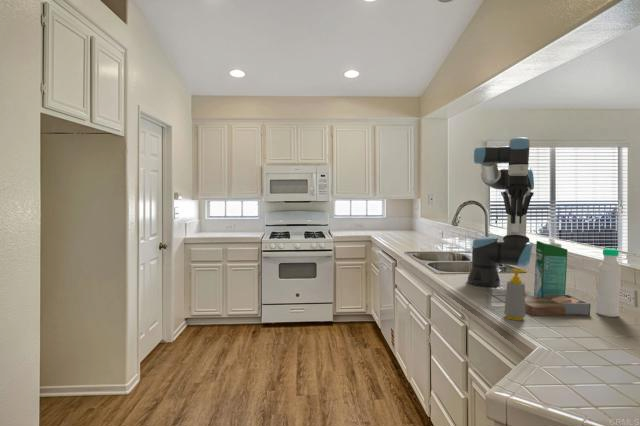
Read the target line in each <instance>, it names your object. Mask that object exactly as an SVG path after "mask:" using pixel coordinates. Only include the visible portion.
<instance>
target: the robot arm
mask: <svg viewBox="0 0 640 426" xmlns="http://www.w3.org/2000/svg"><path fill="white" fill-rule="evenodd" d="M530 146H531V144H530V139H529V138H528V137H513V138H511V139H510V140H509V144H508V145H506V146H505V145H504V146H503V145H501V146H477V147H475V148H474V151H473V162H474V163H475V164H478V165H480V168H481V173H480V178H481V180H482V181H483V183H484V184H485V185H486V186H487V187H490V188H492V189H495V190H501V192H500V194H501V196H502V198H503V202H504V208H505V213H506V214H507V221H506V222H507V223H506V234H505V235H504V236H503V237H502V240H500V239H499V238H498V237H497V236H483V237H477V238H475V239H473V241H472V247H471V249H472V253H471V254H472V255H471V268H470V271H469V272H468V276H467V283H468V284H470V285H473V286H479V287H488V288H489V287H491V288H492V287H500V285H501V279H500V275H499V272H498V265H506V266H515V267H516V266H517V267H527V266H529V264H530V262H531V261H530V260H531V256H532V250H533V242H532V241H530V237H528V236H527V214H528V211H529V210H528V209H529V206H530V202H531V199H532V197H534V195H535V194H534V192H533V190H534V189H535V181H534V172H533V170H532V168H530V167H529V161H530V160H529V159H530ZM499 164H508V167H499ZM502 190H503V191H502Z"/></svg>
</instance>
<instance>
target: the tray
mask: <svg viewBox="0 0 640 426" xmlns="http://www.w3.org/2000/svg"><path fill="white" fill-rule="evenodd" d="M560 296H565V297H567V298H571V297H572V298H574V299H577V300H579V301H580V302H581V303H563V307H564V308H565V316H591V304H592V303H590V302H587V301H586V300H583V299H580V298H578V297H576V296H573V295H570V294H568V293H567V294H566V293H565V294H544V298H546V299H548V300H550V301H551V299H553V298H557V297H560Z"/></svg>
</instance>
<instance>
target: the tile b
mask: <svg viewBox="0 0 640 426" xmlns="http://www.w3.org/2000/svg"><path fill="white" fill-rule="evenodd" d="M569 299H571V301H572V303H581V302H580V301H579V300H577V299H574V298H572V297H571V298H569Z"/></svg>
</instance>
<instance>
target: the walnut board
mask: <svg viewBox="0 0 640 426" xmlns="http://www.w3.org/2000/svg"><path fill="white" fill-rule="evenodd" d="M526 312H527V313H528V314H529V315H531V316H551V317H552V316H554V317H556V316H557V317H560V316H561V317H564V316H566V315H565V308H564V307H562V306H560V305H558V304H556V303H554V302H552V301H550V300H548V299H546V298H544V297H534V296H525V313H526Z"/></svg>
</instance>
